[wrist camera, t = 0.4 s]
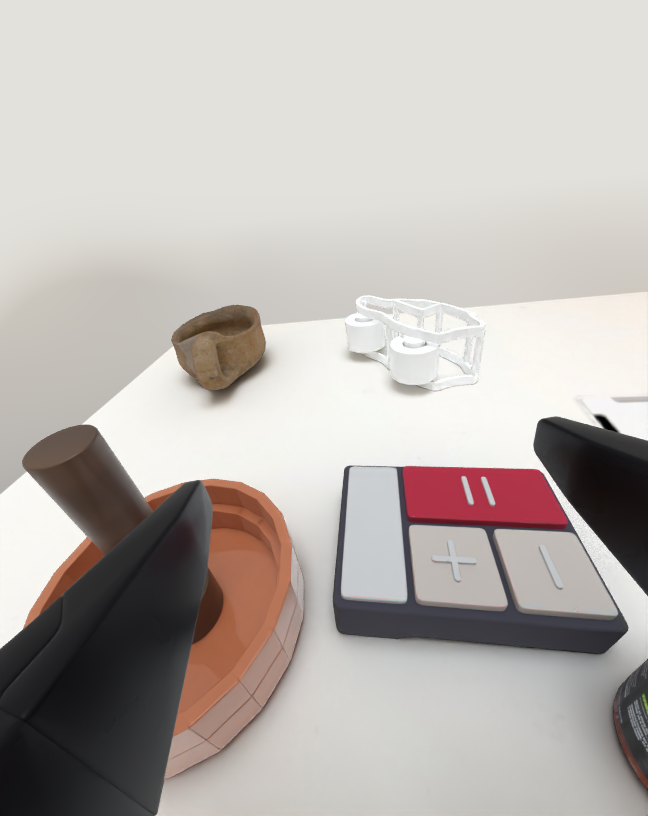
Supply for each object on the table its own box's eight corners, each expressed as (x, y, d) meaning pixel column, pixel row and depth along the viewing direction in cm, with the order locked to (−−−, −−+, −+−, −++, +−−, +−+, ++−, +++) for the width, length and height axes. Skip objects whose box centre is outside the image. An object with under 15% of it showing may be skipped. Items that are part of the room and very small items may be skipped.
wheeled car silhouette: (337, 350, 53) (331, 305, 49) (393, 330, 57) (393, 286, 52) (419, 408, 38) (421, 350, 34) (490, 377, 41) (500, 320, 37)
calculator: (642, 626, 16) (330, 601, 18) (604, 659, 18) (335, 633, 20) (545, 461, 25) (343, 457, 27) (529, 499, 27) (346, 492, 29)
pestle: (216, 644, 21) (82, 477, 12) (147, 652, 21) (-34, 492, 12) (229, 574, 24) (134, 407, 16) (170, 581, 24) (44, 420, 16)
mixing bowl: (305, 767, 16) (284, 744, 13) (4, 796, 17) (-78, 779, 14) (305, 508, 29) (294, 467, 26) (133, 530, 29) (104, 492, 26)
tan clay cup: (295, 375, 45) (258, 312, 39) (206, 427, 45) (154, 372, 39) (269, 332, 59) (239, 280, 53) (201, 371, 59) (162, 324, 53)
